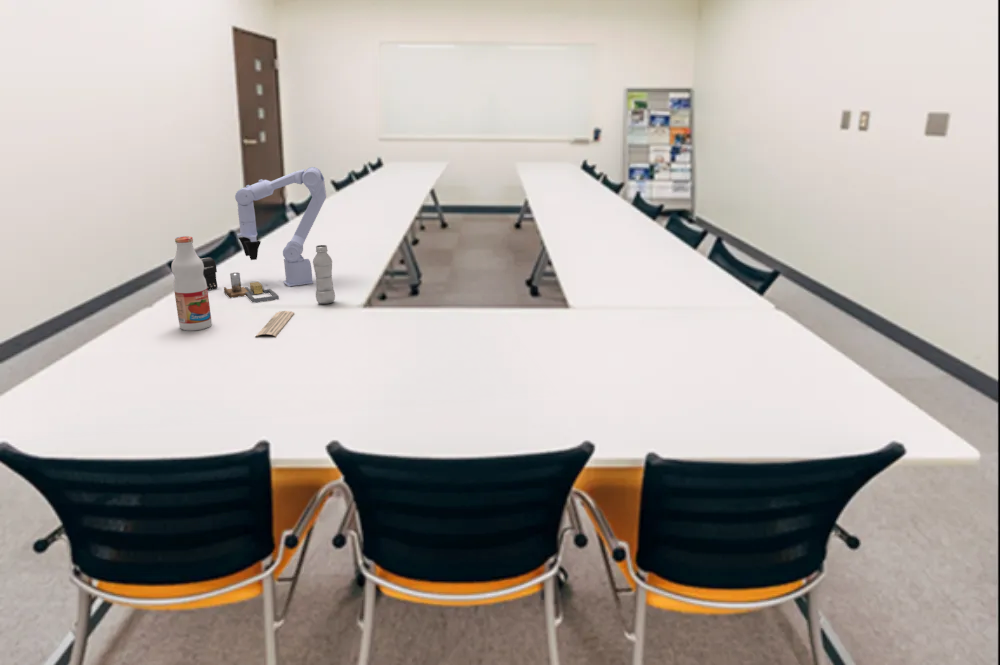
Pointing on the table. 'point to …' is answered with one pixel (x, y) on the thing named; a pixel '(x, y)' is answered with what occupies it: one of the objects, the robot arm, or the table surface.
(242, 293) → the brown flat slab
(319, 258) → the plastic bottle
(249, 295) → the socket
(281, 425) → the table surface
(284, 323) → the newspaper
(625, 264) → the table surface
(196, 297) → the fruit juice
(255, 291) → the block
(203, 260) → the battery charger
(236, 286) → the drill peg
